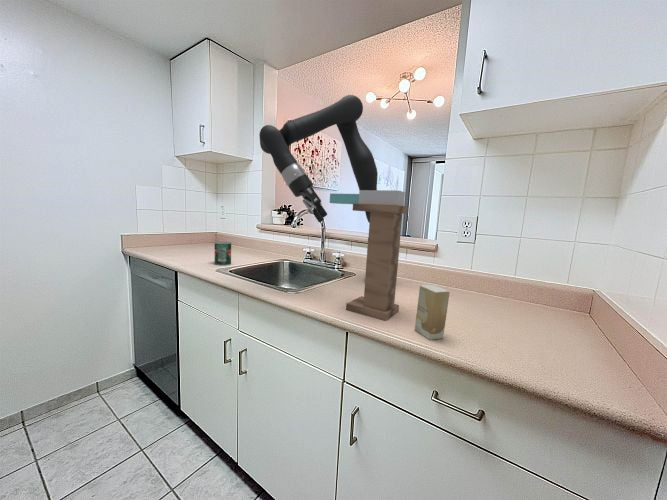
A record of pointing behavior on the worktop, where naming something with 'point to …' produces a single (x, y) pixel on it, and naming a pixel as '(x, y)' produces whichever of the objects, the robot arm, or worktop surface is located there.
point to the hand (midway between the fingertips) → (323, 218)
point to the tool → (370, 197)
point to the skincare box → (431, 311)
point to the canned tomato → (222, 253)
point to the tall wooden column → (380, 261)
